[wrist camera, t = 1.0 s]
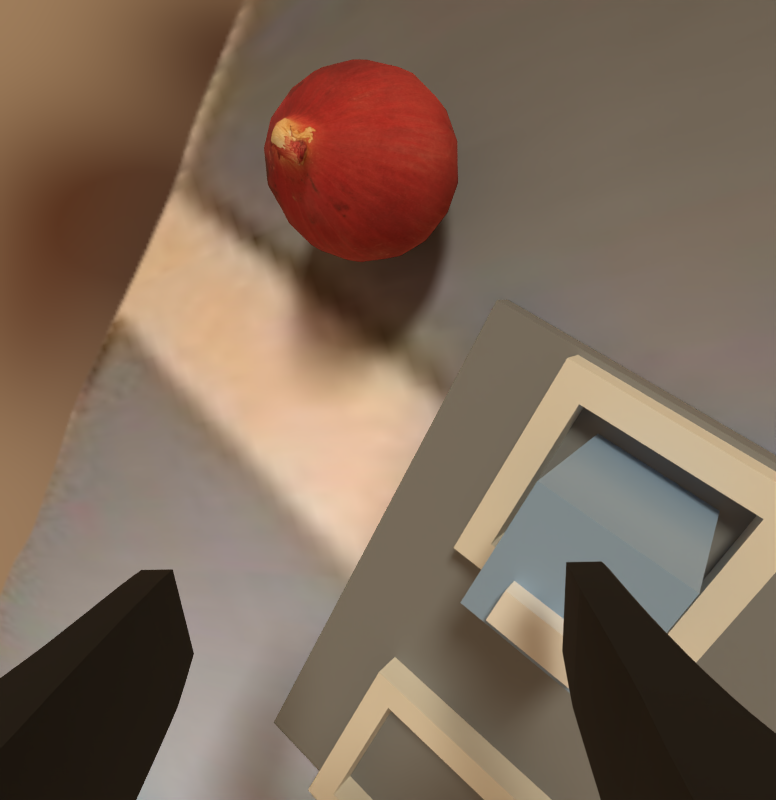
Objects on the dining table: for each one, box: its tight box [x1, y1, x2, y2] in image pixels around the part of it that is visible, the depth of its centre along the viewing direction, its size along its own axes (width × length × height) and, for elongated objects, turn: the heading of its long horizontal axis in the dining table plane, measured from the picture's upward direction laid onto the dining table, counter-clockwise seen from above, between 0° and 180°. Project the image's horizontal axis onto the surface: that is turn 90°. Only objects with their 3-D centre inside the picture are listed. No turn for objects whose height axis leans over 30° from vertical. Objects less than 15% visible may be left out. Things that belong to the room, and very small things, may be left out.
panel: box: [274, 300, 776, 800], centre depth 22 cm, size 14×22×2 cm, turn 151°
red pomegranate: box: [264, 60, 458, 262], centre depth 19 cm, size 6×6×8 cm
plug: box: [460, 434, 720, 693], centre depth 17 cm, size 4×4×7 cm
